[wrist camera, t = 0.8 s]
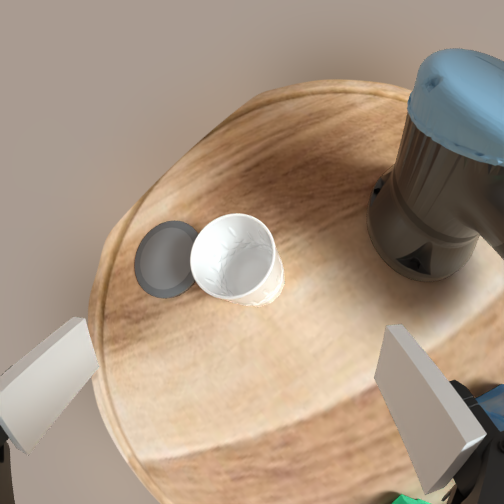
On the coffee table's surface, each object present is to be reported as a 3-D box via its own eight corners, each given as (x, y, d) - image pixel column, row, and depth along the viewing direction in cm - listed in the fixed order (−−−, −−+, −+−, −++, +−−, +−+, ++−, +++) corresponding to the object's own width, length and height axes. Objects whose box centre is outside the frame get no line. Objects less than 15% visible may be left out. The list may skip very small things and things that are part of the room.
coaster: (195, 210, 39) (193, 208, 39) (212, 283, 35) (210, 281, 34) (133, 239, 41) (130, 237, 40) (143, 308, 37) (140, 307, 36)
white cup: (292, 309, 32) (278, 295, 22) (226, 314, 33) (188, 301, 24) (287, 244, 34) (272, 207, 25) (226, 252, 36) (191, 220, 27)
